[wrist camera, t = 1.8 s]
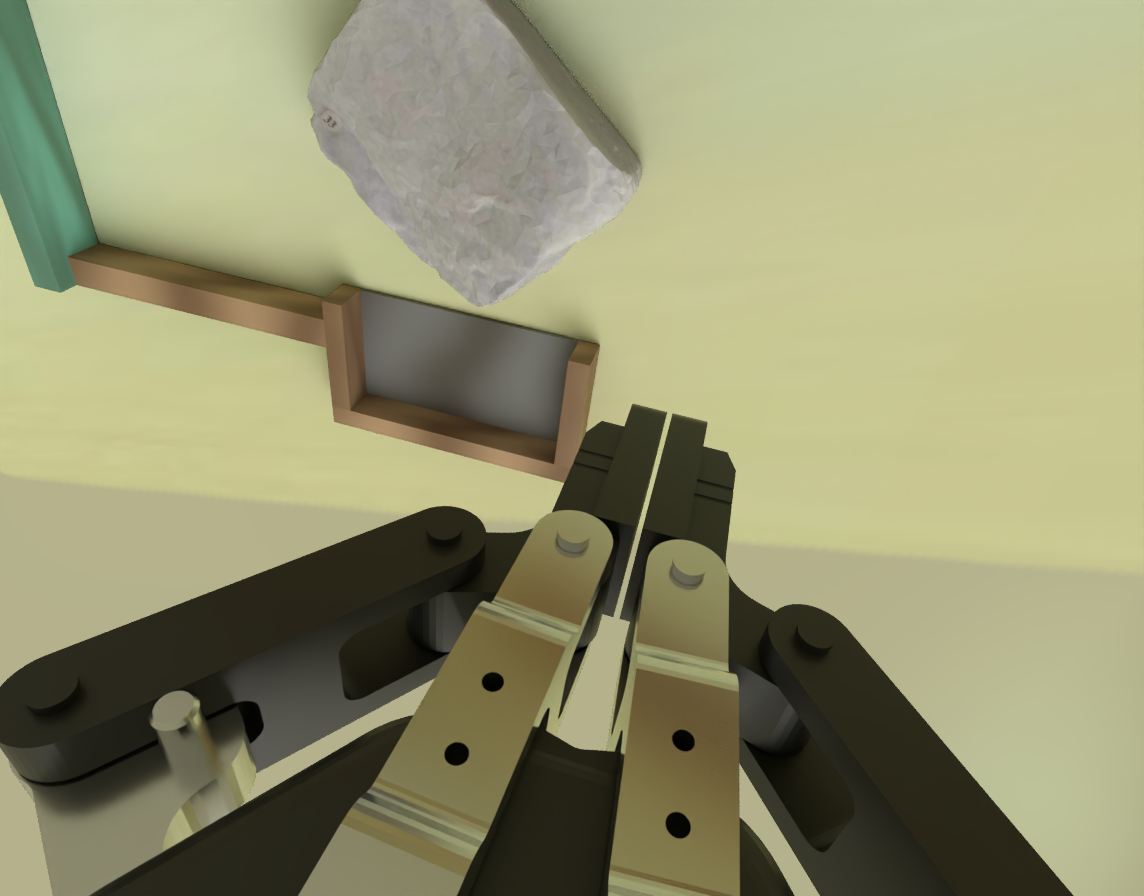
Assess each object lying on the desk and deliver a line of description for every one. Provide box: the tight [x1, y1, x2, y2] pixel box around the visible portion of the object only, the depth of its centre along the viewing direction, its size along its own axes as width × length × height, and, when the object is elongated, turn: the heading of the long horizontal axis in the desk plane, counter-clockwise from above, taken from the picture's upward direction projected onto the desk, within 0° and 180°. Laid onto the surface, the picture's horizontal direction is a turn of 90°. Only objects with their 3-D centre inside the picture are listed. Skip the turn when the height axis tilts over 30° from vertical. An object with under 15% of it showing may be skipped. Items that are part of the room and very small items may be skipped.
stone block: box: [307, 0, 642, 306], centre depth 28 cm, size 12×5×10 cm
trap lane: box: [0, 0, 600, 483], centre depth 29 cm, size 28×29×3 cm
